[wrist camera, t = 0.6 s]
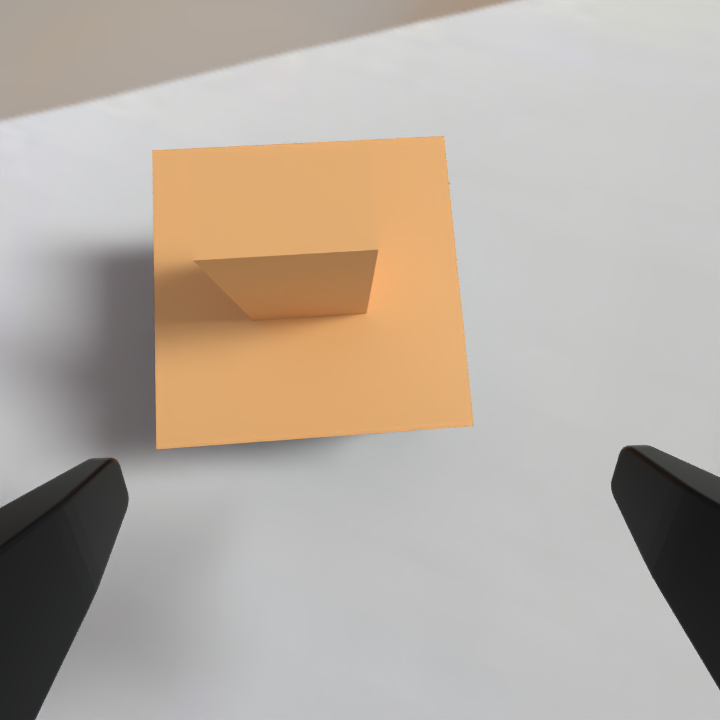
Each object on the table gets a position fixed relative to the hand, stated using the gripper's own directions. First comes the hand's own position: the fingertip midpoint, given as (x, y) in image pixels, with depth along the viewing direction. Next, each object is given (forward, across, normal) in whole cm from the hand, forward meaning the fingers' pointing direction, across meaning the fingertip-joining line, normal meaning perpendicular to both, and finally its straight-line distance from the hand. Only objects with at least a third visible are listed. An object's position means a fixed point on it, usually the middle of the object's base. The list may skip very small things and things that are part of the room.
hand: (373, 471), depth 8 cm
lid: (+11, +2, 0) cm, 11 cm away
